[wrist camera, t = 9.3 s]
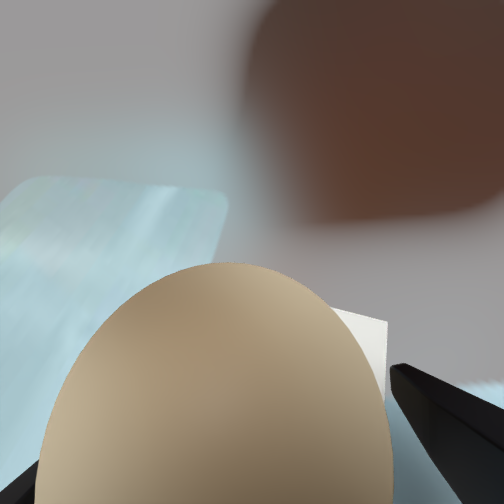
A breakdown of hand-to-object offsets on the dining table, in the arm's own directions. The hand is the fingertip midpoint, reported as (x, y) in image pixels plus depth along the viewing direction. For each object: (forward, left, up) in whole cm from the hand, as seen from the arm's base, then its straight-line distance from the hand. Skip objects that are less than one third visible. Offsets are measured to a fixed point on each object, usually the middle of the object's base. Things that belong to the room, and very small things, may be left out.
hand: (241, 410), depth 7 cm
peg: (0, 0, -10) cm, 10 cm away
